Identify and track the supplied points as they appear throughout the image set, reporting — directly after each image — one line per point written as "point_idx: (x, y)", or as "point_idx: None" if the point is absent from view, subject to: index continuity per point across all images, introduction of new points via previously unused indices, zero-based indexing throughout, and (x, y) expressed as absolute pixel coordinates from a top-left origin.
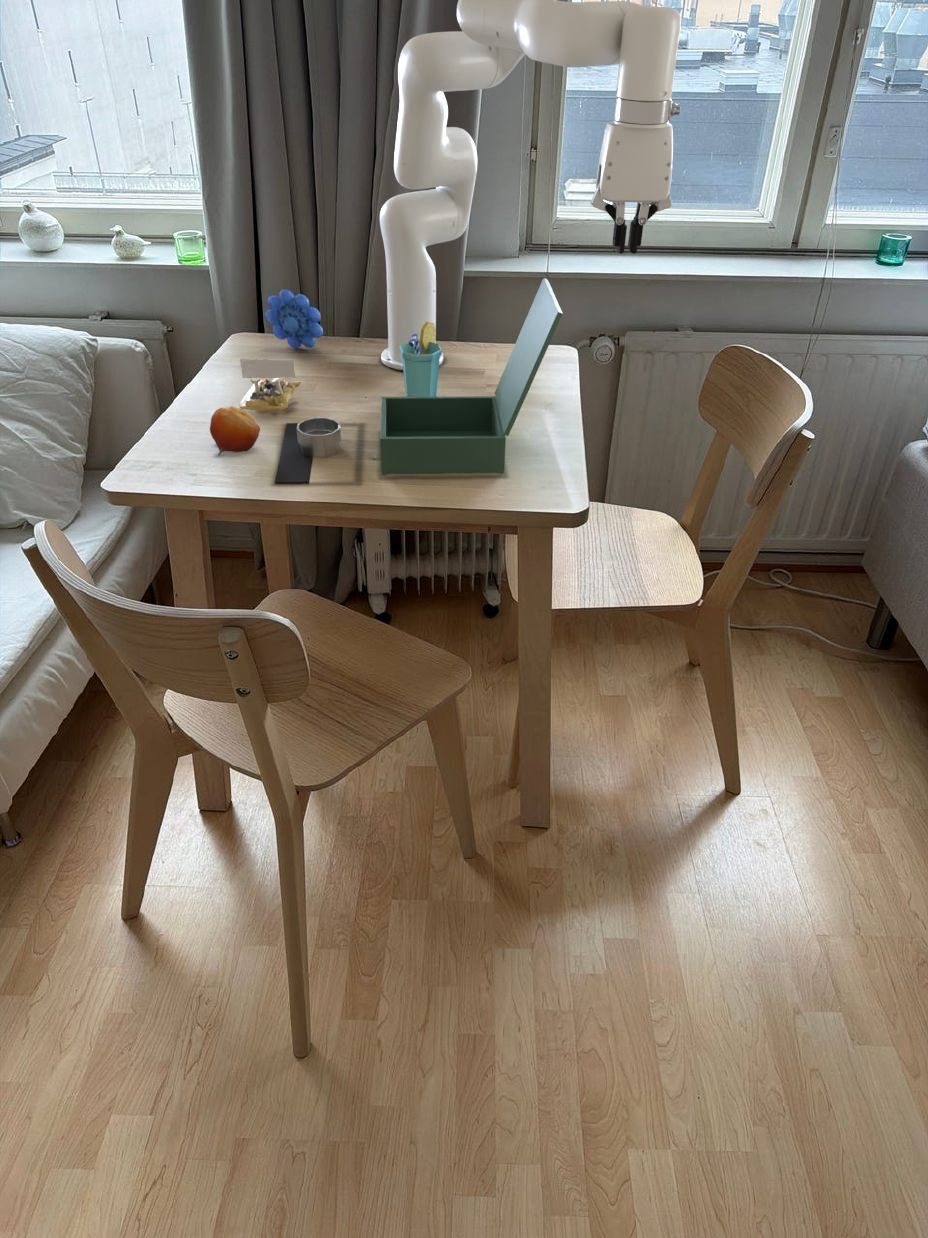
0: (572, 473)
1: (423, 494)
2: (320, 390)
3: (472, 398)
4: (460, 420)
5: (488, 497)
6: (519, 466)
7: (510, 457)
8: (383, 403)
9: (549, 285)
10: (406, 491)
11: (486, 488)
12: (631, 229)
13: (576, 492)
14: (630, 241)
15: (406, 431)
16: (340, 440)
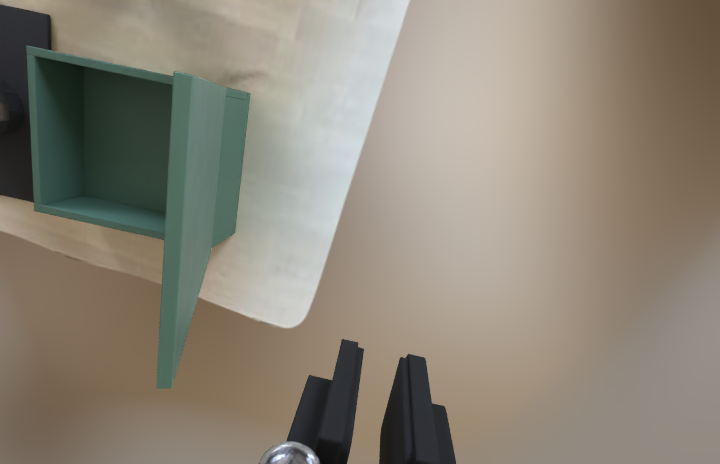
0: (325, 243)
1: (132, 250)
2: None
3: None
4: None
5: (207, 275)
6: (261, 208)
7: (255, 179)
8: (31, 78)
9: (183, 151)
10: (113, 238)
11: None
12: (393, 461)
13: (313, 290)
14: (390, 420)
15: (112, 73)
16: (7, 120)
